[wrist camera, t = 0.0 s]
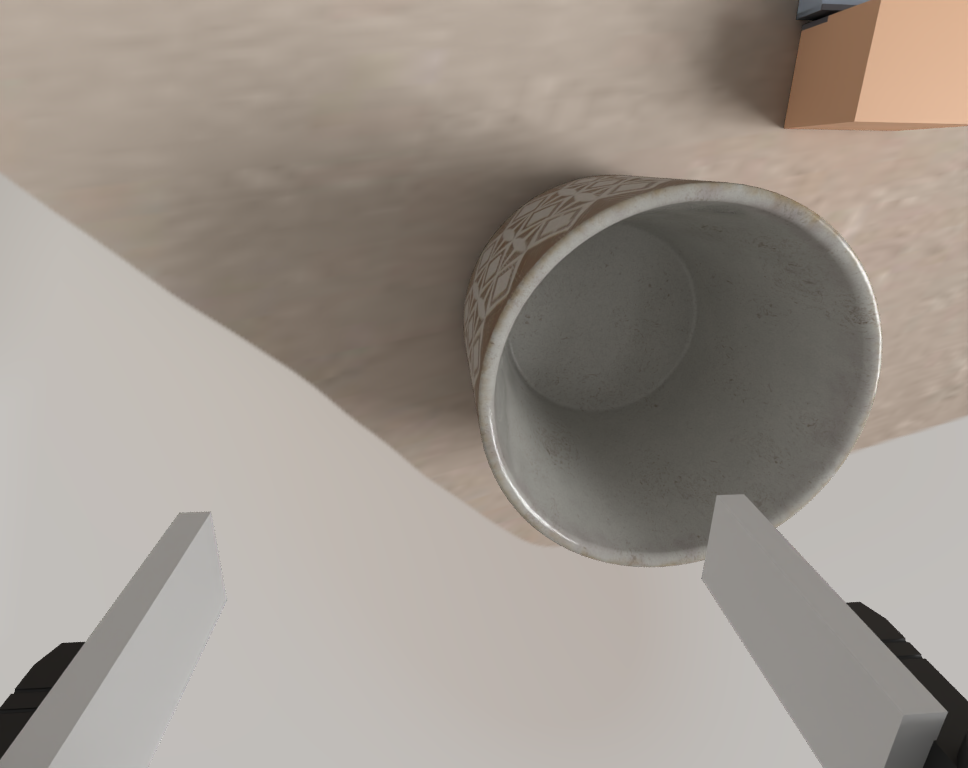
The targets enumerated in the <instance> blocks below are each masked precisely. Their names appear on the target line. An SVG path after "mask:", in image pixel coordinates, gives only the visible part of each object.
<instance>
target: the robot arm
mask: <svg viewBox="0 0 968 768" xmlns="http://www.w3.org/2000/svg"><path fill="white" fill-rule="evenodd" d="M701 579H702V580H703V582H704V583H705V585H706V586H707V588H708V590H709V591H710V593H711V594H712V596H713V597H714V599H715V600H716V602H717V603H718V605H719V607H720V608H721V610H722V611H723V613H724V614H725V616H726V617H727V619H728V621H729V622H730V624H731V625H732V627H733V628H734V630H735V631H736V633H737V635H738V636H739V638H740V639H741V641H742V642H743V643H744V645H745V647H746V649H747V650H748V652H749V653H750V655H751V656H752V658H753V659H754V661H755V663H756V664H757V666H758V667H759V669H760V670H761V672H762V673H763V675H764V676H765V678H766V680H767V681H768V683H769V684H770V686H771V687H772V689H773V690H774V692H775V694H776V695H777V697H778V698H779V700H780V701H781V703H782V704H783V706H784V708H785V709H786V711H787V712H788V714H789V715H790V717H791V718H792V720H793V722H794V723H795V724H796V726H797V728H798V729H799V731H800V732H801V734H802V735H803V737H804V739H805V740H806V742H807V743H808V745H809V746H810V748H811V750H812V751H813V752H814V754H815V756H816V757H817V759H818V760H819V762H820V763H821V765H822V767H823V768H968V701H967V700H966V699H965V698H964V697H963V696H962V695H961V694H960V693H959V692H958V691H957V690H956V689H955V688H954V687H953V686H952V685H951V684H950V683H949V682H948V681H947V680H946V679H945V678H944V677H943V676H942V675H941V674H940V673H939V672H938V671H937V670H936V669H935V668H934V667H933V666H932V665H931V664H930V663H929V662H928V661H927V660H926V659H923V658H922V656H921V654H920V653H919V652H918V651H917V650H916V649H915V648H914V647H913V646H912V645H911V644H910V643H909V642H906V641H905V638H904V637H903V635H902V634H900V632H899V631H897V629H896V628H894V626H893V625H892V624H890V622H889V621H888V620H886V618H884V617H882V616H881V615H879V614H878V613H876V612H874V611H873V610H872V609H870V608H869V607H867V606H865V605H864V604H862V603H861V602H851V603H845V602H844V601H843V600H842V598H841V597H840V596H839V595H838V594H837V593H836V592H835V591H834V590H833V589H832V588H831V587H830V586H829V584H828V583H826V581H825V580H824V579H823V578H822V577H821V576H820V575H819V574H818V573H817V572H816V571H815V570H814V568H813V567H812V566H811V565H810V564H809V563H808V562H807V561H806V560H805V559H804V558H803V557H802V556H801V555H800V553H799V552H798V551H797V550H796V549H795V548H794V547H793V546H792V545H791V544H790V543H789V542H788V541H787V540H786V539H785V538H784V536H783V535H782V534H781V533H780V532H779V531H778V530H777V529H776V528H775V527H774V526H773V525H772V524H771V523H770V521H769V520H768V519H767V518H766V517H765V516H764V515H763V514H762V513H761V512H760V511H759V510H758V509H757V508H756V506H755V505H754V504H753V503H752V502H751V501H750V500H749V499H748V498H747V497H746V496H745V495H744V494H736V495H717V496H716V502H715V507H714V512H713V518H712V523H711V529H710V534H709V540H708V545H707V551H706V556H705V562H704V567H703V573H702V578H701ZM226 601H227V597H226V591H225V586H224V580H223V575H222V569H221V563H220V558H219V552H218V547H217V541H216V536H215V530H214V525H213V519H212V514H211V512H188V513H179V514H178V515H177V517H176V518H175V520H174V521H173V522H172V524H171V525H170V526H169V528H168V529H167V530H166V532H165V533H164V535H163V536H162V537H161V539H160V540H159V541H158V543H157V544H156V546H155V547H154V548H153V550H152V551H151V553H150V554H149V555H148V557H147V558H146V559H145V561H144V562H143V564H142V565H141V566H140V568H139V569H138V571H137V572H136V573H135V575H134V576H133V577H132V579H131V580H130V581H129V583H128V584H127V586H126V587H125V588H124V590H123V591H122V593H121V594H120V595H119V597H118V598H117V600H116V601H115V602H114V604H113V605H112V606H111V608H110V609H109V610H108V612H107V613H106V615H105V616H104V618H103V619H102V621H100V623H99V624H98V626H97V627H96V628H95V630H94V631H93V633H92V634H91V635H90V637H89V638H88V639H87V641H86V642H73V643H61V644H60V645H59V646H58V647H56V648H55V649H54V650H52V652H50V653H49V654H47V655H46V656H45V657H43V658H42V659H41V660H40V661H38V662H37V663H36V664H35V665H34V666H33V667H32V668H31V669H30V671H29V672H28V673H27V675H26V676H25V677H24V678H23V679H22V681H21V682H20V684H19V685H18V686H17V687H16V688H15V692H14V694H11V695H10V696H9V697H8V698H7V700H6V701H5V702H4V704H3V705H2V706H1V707H0V768H148V766H149V764H150V762H151V760H152V758H153V756H154V754H155V752H156V749H157V747H158V745H159V743H160V741H161V739H162V737H163V735H164V733H165V730H166V728H167V726H168V724H169V722H170V720H171V718H172V716H173V714H174V711H175V709H176V707H177V705H178V703H179V701H180V699H181V697H182V694H183V692H184V690H185V688H186V686H187V684H188V682H189V679H190V677H191V675H192V673H193V671H194V669H195V667H196V665H197V663H198V661H199V658H200V656H201V654H202V652H203V650H204V648H205V646H206V644H207V641H208V639H209V637H210V635H211V633H212V630H213V628H214V627H215V624H216V622H217V620H218V618H219V616H220V614H221V612H222V609H223V608H224V605H225V603H226Z"/></svg>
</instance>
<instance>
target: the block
mask: <svg viewBox="0 0 968 768" xmlns="http://www.w3.org/2000/svg"><path fill="white" fill-rule="evenodd" d="M958 126H968V0H870V1H867V2H864V3H862V4H859V5H856V6H853V7H851V8H848V9H845V10H843V11H840V12H837V13H835V14H832V15H829V16H827V17H824V18H821V19H818V20H816V21H813V22H810V23H808V24H805V25H803V26H802V31H801V37H800V42H799V48H798V53H797V59H796V64H795V70H794V75H793V81H792V86H791V92H790V97H789V102H788V108H787V113H786V119H785V124H784V129H833V130H882V131H900V130H914V129H929V128H943V127H958Z"/></svg>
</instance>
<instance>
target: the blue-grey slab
mask: <svg viewBox="0 0 968 768" xmlns="http://www.w3.org/2000/svg"><path fill="white" fill-rule="evenodd" d="M867 1H870V0H799V6H798V11H797V17H796V20H818V19H821V18H824V17H827V16H829V15H832V14H835V13H837V12H840V11H843V10H845V9H848V8H851V7H853V6H856V5H859V4H862V3H864V2H867Z"/></svg>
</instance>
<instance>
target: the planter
mask: <svg viewBox="0 0 968 768" xmlns="http://www.w3.org/2000/svg"><path fill="white" fill-rule="evenodd" d="M463 329H464V340H465V346H466V352H467V358H468V364H469V370H470V375H471V381H472V387H473V392H474V398H475V404H476V410H477V415H478V421H479V427H480V433H481V438H482V442H483V446H484V451H485V454H486V457H487V460H488V463H489V465H490V468H491V470H492V472H493V475H494V477H495V479H496V481H497V482H498V484H499V486H500V488H501V490H502V491H503V493H504V494H505V496H506V497H507V499H508V500H509V502H510V503H511V504H512V505H513V506H514V508H515V509H516V510H517V511H518V512H519V513H520V515H521V516H522V517H523V518H524V519H525V520H526V521H527V522H528V523H530V524H531V525H532V526H533V527H534V528H535V529H536V530H538V531H539V532H541V533H542V534H543V535H545V536H546V537H547V538H549V539H551V540H552V541H554V542H555V543H557V544H559V545H561V546H563V547H565V548H566V549H569V550H570V551H573V552H575V553H578V554H580V555H583V556H586V557H589V558H592V559H595V560H599V561H603V562H607V563H612V564H617V565H624V566H633V567H665V566H675V565H682V564H688V563H693V562H697V561H702V560H705V556H706V551H707V545H708V540H709V534H710V529H711V523H712V518H713V512H714V507H715V502H716V496H717V495H736V494H744V495H745V496H746V497H747V498H748V499H749V500H750V501H751V502H752V503H753V504H754V505H755V506H756V508H757V509H758V510H759V511H760V512H761V513H762V514H763V515H764V516H765V517H766V518H767V519H768V520H769V521H770V523H771V524H772V525H773V526H774V527H775V528H777V527H778V526H780V525H781V524H783V523H784V522H785V521H787V520H788V519H789V518H791V517H792V516H793V515H795V514H796V513H797V512H798V511H799V510H801V509H802V508H803V507H804V506H805V505H806V504H808V503H809V502H810V501H811V500H812V499H813V498H814V497H815V496H816V495H817V494H818V493H819V492H820V491H821V490H822V489H823V488H824V486H825V485H826V484H827V483H828V482H829V481H830V480H831V478H832V477H833V476H834V475H835V473H836V472H837V471H838V470H839V468H840V467H841V465H842V464H843V463H844V461H845V460H846V458H847V457H848V455H849V453H850V452H851V450H852V449H853V447H854V445H855V443H856V442H857V440H858V438H859V436H860V434H861V432H862V430H863V428H864V425H865V423H866V421H867V419H868V416H869V413H870V411H871V408H872V405H873V402H874V398H875V395H876V391H877V387H878V382H879V377H880V370H881V362H882V329H881V320H880V314H879V309H878V304H877V300H876V297H875V294H874V291H873V287H872V285H871V283H870V280H869V278H868V275H867V273H866V271H865V269H864V267H863V266H862V264H861V262H860V260H859V259H858V257H857V256H856V254H855V253H854V251H853V250H852V248H851V247H850V246H849V244H848V243H847V242H846V241H845V240H844V238H843V237H842V236H841V235H840V234H839V233H838V232H837V231H836V230H835V229H834V228H833V227H832V226H831V225H830V224H829V223H827V222H826V221H825V220H824V219H823V218H821V217H820V216H819V215H817V214H816V213H814V212H813V211H811V210H810V209H808V208H807V207H805V206H803V205H802V204H800V203H798V202H796V201H794V200H792V199H790V198H788V197H785V196H783V195H780V194H778V193H775V192H772V191H769V190H765V189H762V188H758V187H753V186H749V185H744V184H735V183H727V182H712V181H698V180H683V179H669V178H654V177H639V176H625V175H601V176H592V177H586V178H581V179H577V180H573V181H570V182H567V183H564V184H561V185H559V186H556V187H554V188H552V189H550V190H548V191H546V192H544V193H542V194H540V195H538V196H537V197H535V198H533V199H532V200H530V201H529V202H528V203H526V204H525V205H523V206H522V207H521V208H520V209H518V210H517V211H516V212H515V213H514V214H512V215H511V216H510V217H509V218H508V219H507V220H506V221H505V222H504V223H503V225H502V226H501V227H500V228H499V229H498V230H497V231H496V233H495V234H494V235H493V237H492V238H491V239H490V241H489V242H488V244H487V245H486V247H485V249H484V250H483V252H482V254H481V256H480V258H479V259H478V261H477V264H476V266H475V268H474V270H473V273H472V276H471V279H470V282H469V285H468V289H467V293H466V299H465V304H464V315H463Z"/></svg>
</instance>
